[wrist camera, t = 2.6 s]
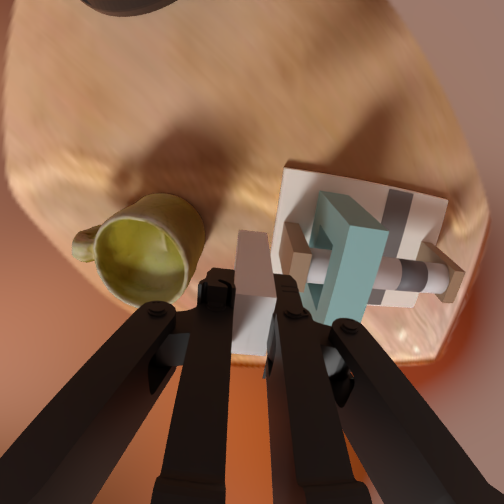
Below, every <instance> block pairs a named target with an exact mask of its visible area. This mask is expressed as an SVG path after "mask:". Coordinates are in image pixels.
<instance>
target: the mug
mask: <svg viewBox="0 0 504 504" xmlns="http://www.w3.org/2000/svg"><path fill="white" fill-rule="evenodd" d="M204 244H205V230H204V225H203V222H202V219H201V217H200V215H199V214H198V212H197V211H196V210H195V208H194V207H193V206H192V205H191V204H190V203H188V202H187V201H186V200H184V199H182V198H180V197H178V196H175V195H171V194H166V193H157V194H150V195H147V196H145V197H143V198H141V199H140V200H139V201H137V202H136V203H135V204H133V205H131V206H129V207H127V208H124V209H122V210H120V211H119V212H117V213H115V214H114V215H113V216H111V217H110V218H109V219H107V220H106V221H105V222H104V223H103V224H102V225H98V226H94V227H92V228H90V229H87V230H83V231H80V232H78V233H77V235H76V236H75V238H74V240H73V242H72V255H73V257H74V258H76V259H77V260H79V261H81V262H91V261H95V264H96V268H97V272H98V274H99V276H100V278H101V280H102V282H103V283H104V285H105V286H106V287H107V289H108V290H109V291H110V292H111V293H112V294H113V295H114V296H115V297H116V298H118V299H119V300H121V301H123V302H124V303H126V304H128V305H130V306H133V307H135V308H139V307H140V306H141V305H143V304H144V303H146V302H150V301H165V302H168V303H170V304H173V303H175V302H176V301H177V300H178V299H179V298H180V297H181V295H182V294H183V293H184V291H185V289H186V288H187V287H188V285H189V282H190V280H191V278H192V276H193V275H194V272H195V270H196V266H197V263H198V260H199V258H200V256H201V253H202V251H203V248H204Z"/></svg>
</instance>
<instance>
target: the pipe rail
mask: <svg viewBox="0 0 504 504" xmlns="http://www.w3.org/2000/svg"><path fill="white" fill-rule="evenodd" d="M319 190H320V191H326V192H333V193H339V194H345V195H349V196H350V197H351V198H353V199H354V200H355V201H356V202H357V203H358V204H360V205H361V206H362V207H363V208H364V209H365V210H366V211H367V212H369V213H370V214H371V215H372V216H373V217H374V218H375V219H376V220H377V221H378V222H380V223H381V224H382V225H383V226H384V227H385V228H386V229H387V230H388V231H389V234H388V238H387V241H386V245H385V248H384V252H383V255H382V259H381V262H380V265H379V269H378V272H377V275H376V278H375V281H374V285H373V288H372V291H371V294H370V297H369V300H368V303H367V305H372V306H388V307H407V308H413V307H414V305H415V302H416V300H417V297H418V295H419V292H421V293H434V294H435V295H436V296H437V297H438V298H439V299H440V300H441V302H442V303H453V302H454V300H455V297H456V295H457V292H458V290H459V288H460V285H461V283H462V280H463V277H464V275H465V271H464V270H462V269H461V268H460V267H459V266H458V265H457V264H456V263H455V262H453V261H452V260H451V259H450V258H449V257H448V256H447V255H445V254H444V253H443V252H442V251H441V250H440V249H438V248H437V247H436V243H437V240H438V237H439V234H440V230H441V227H442V223H443V220H444V216H445V213H446V209H447V205H448V201H449V200H447V199H445V198H441V197H437V196H433V195H429V194H424V193H420V192H416V191H412V190H407V189H403V188H398V187H394V186H389V185H384V184H379V183H375V182H370V181H364V180H359V179H354V178H349V177H343V176H338V175H332V174H326V173H320V172H314V171H308V170H301V169H294V168H288V167H284V169H283V175H282V182H281V188H280V195H279V201H278V207H277V214H276V220H275V226H274V233H273V239H272V245H271V251H270V256H271V263H272V269H273V273H275V274H285V275H291V276H292V277H293V278H294V279H295V280H296V282H297V286H298V289H299V292H302V293H304V289H305V284H306V283H315V284H324V281H325V277H326V273H327V269H328V265H329V261H330V257H331V253H332V250H327V249H318V248H310V247H309V241H310V236H311V231H312V226H313V221H314V216H315V211H316V206H317V200H318V195H319Z"/></svg>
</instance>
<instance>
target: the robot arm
mask: <svg viewBox="0 0 504 504" xmlns="http://www.w3.org/2000/svg"><path fill="white" fill-rule="evenodd" d="M81 1H82V2H83V3H84V4H86V5H87V6H89V7H91V8H92V9H94V10H96V11H98V12H100V13H102V14H106V15H110V16H117V17H128V16H137V15H142V14H146V13H150V12H153V11H156V10H158V9H161V8H163V7H166V6H168V5H170V4H172V3H173V2H175V1H177V0H81ZM266 350H267V353H268V355H267V360H266V365H265V369H264V374H263V378H264V379H265V378H266V382H267V398H268V415H269V433H270V450H271V468H272V488H273V504H372V501H371V497H370V493H369V490H368V488H367V486H366V485H365V484H364V483H363V482H360V481H356V479H355V478H354V475H353V472H352V468H351V464H350V459H349V455H348V451H347V447H346V442H345V438H344V434H343V431H344V433H345V435H346V437H347V438H348V440H349V442H350V444H351V445H352V447H353V449H354V451H355V453H356V454H357V456H358V458H359V460H360V462H361V463H362V465H363V467H364V469H365V470H366V472H367V474H368V476H369V477H370V479H371V481H372V483H373V485H374V486H375V488H376V490H377V492H378V494H379V495H380V497H381V499H382V501H383V502H384V504H504V494H502V493H501V492H500V491H498V490H497V489H495V488H494V487H493V486H491V485H490V484H488V482H487V481H486V480H485V478H484V477H483V476H482V474H481V473H480V471H479V470H478V469H477V467H476V466H475V465H474V464H473V462H472V461H471V459H470V458H469V457H468V455H467V454H466V453H465V452H464V450H463V449H462V447H461V446H460V445H459V444H458V442H457V441H456V440H455V438H454V437H453V436H452V435H451V433H450V432H449V431H448V429H447V428H446V427H445V425H444V424H443V423H442V422H441V420H440V419H439V418H438V416H437V415H436V414H435V413H434V411H433V410H432V409H431V408H430V406H429V405H428V404H427V402H426V401H425V400H424V399H423V397H422V396H421V395H420V394H419V393H418V391H417V390H416V389H415V388H414V386H413V385H412V384H411V383H410V381H409V380H408V379H407V378H406V376H405V375H404V374H403V373H402V371H401V370H400V369H399V368H398V367H397V365H396V364H395V363H394V362H393V360H392V359H391V358H390V357H389V356H388V354H387V353H386V352H385V351H384V350H383V348H382V347H381V346H380V345H379V344H378V342H377V341H376V340H375V339H374V338H373V336H372V335H371V334H370V333H369V332H368V331H367V329H366V328H365V327H364V326H363V325H362V324H361V323H360V322H358V321H356V320H354V319H350V318H338V319H336V320H334V321H333V323H332V326H329V325H325V324H321V323H318V322H316V321H314V320H313V318H312V315H311V313H310V312H309V311H308V310H307V309H306V308H304V307H303V304H302V301H301V297H300V293H299V289H298V286H297V282H296V280H295V279H294V278H293V277H292V276H291V275H285V274H275V273H273V269H272V263H271V256H270V250H269V243H268V237H267V233H264V232H255V231H246V230H239V232H238V240H237V249H236V257H235V266H234V270H230V269H221V268H212V269H211V270H210V271H208V272H207V276H206V278H205V279H203V280H201V281H200V282H199V284H198V298H197V307H195V308H193V309H191V310H187V311H178V312H176V310H175V307H174V306H173V305H172V304H170V303H168V302H165V301H150V302H146V303H144V304H143V305H141V306H140V307H139V308H138V309H137V310H136V311H135V312H134V313H133V314H132V315H131V316H130V317H129V319H127V320H126V322H125V323H124V324H123V325H122V326H121V327H120V328H119V329H118V330H117V331H116V332H115V333H114V334H113V335H112V336H111V337H110V338H109V339H108V340H107V341H106V342H105V343H104V344H103V345H102V346H101V348H99V350H98V351H96V353H95V354H94V355H93V356H92V357H91V358H90V359H89V360H88V361H87V362H86V363H85V364H84V365H83V366H82V367H81V368H80V370H79V371H78V372H77V373H76V374H75V375H74V376H73V377H72V378H71V379H70V380H69V381H68V383H66V385H65V386H64V387H63V388H62V389H61V390H60V391H59V392H58V393H57V394H56V395H55V397H54V398H53V399H52V400H51V401H50V402H49V403H48V405H46V406H45V408H44V409H43V410H42V411H41V412H40V413H39V414H38V415H37V417H36V418H35V419H34V420H33V421H32V422H31V423H30V425H29V426H28V427H27V428H26V429H25V430H24V431H23V432H22V434H21V435H20V436H19V437H18V438H17V439H16V441H15V442H14V443H13V444H12V445H11V446H10V448H9V449H8V450H7V451H6V452H5V453H4V454H3V456H2V457H1V458H0V504H92V502H93V501H94V499H95V497H96V496H97V494H98V493H99V491H100V490H101V488H102V486H103V485H104V483H105V481H106V480H107V479H108V477H109V475H110V474H111V472H112V471H113V469H114V467H115V466H116V464H117V463H118V461H119V459H120V458H121V456H122V455H123V453H124V451H125V450H126V448H127V446H128V445H129V443H130V442H131V440H132V439H133V437H134V436H135V434H136V432H137V431H138V429H139V428H140V426H141V424H142V423H143V421H144V420H145V418H146V416H147V415H148V413H149V412H150V410H151V409H152V407H153V405H154V404H155V402H156V400H157V399H158V397H159V396H160V394H161V393H162V391H163V389H164V388H165V386H166V385H167V383H168V382H169V380H170V378H171V376H172V375H173V374H174V372H175V370H176V367H177V366H179V365H183V367H182V372H181V376H180V381H179V386H178V391H177V395H176V400H175V404H174V409H173V414H172V419H171V424H170V429H169V434H168V439H167V444H166V449H165V454H164V459H163V465H162V470H161V474H160V476H158V477H157V478H156V481H155V485H154V488H153V493H152V499H151V504H225V493H226V491H225V490H226V488H225V464H226V441H227V421H228V420H227V419H228V402H229V382H230V365H231V353H235V354H246V355H258V356H265V355H266ZM350 372H352V374H353V376H354V377H353V376H352V374H351V373H350ZM342 429H343V430H342Z"/></svg>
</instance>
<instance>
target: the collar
mask: <svg viewBox="0 0 504 504" xmlns="http://www.w3.org/2000/svg"><path fill="white" fill-rule="evenodd" d="M388 234H389V231H388V230H387V229H386V228H385V227H384V226H383V225H382V224H381V223H380V222H378V221H377V220H376V219H375V218H374V217H373V216H372V215H371V214H370V213H369V212H367V211H366V210H365V209H364V208H363V207H362V206H361V205H360V204H358V203H357V202H356V201H355V200H354V199H353V198H351V197H350V196H349V195H345V194H339V193H333V192H326V191H320V190H319V195H318V200H317V206H316V211H315V216H314V221H313V226H312V231H311V236H310V241H309V247H310V248H318V249H327V250H332V253H331V257H330V261H329V265H328V269H327V273H326V277H325V281H324V284H315V283H306V284H305V289H304V293H302V292H299V293H300V297H301V301H302V304H303V307H304V308H306V309H307V310H308V311H309V312H310V313H311V315H312V318H313V320H314V321H316V322H318V323H321V324H325V325H329V326H332V323H333V321H334V320H336V319H338V318H350V319H354V320H356V321H358V322H360V323H361V320H362V317H363V314H364V311H365V308H366V306H367V303H368V300H369V297H370V294H371V291H372V288H373V285H374V281H375V278H376V275H377V272H378V269H379V265H380V262H381V259H382V255H383V252H384V248H385V245H386V241H387V238H388Z"/></svg>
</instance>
